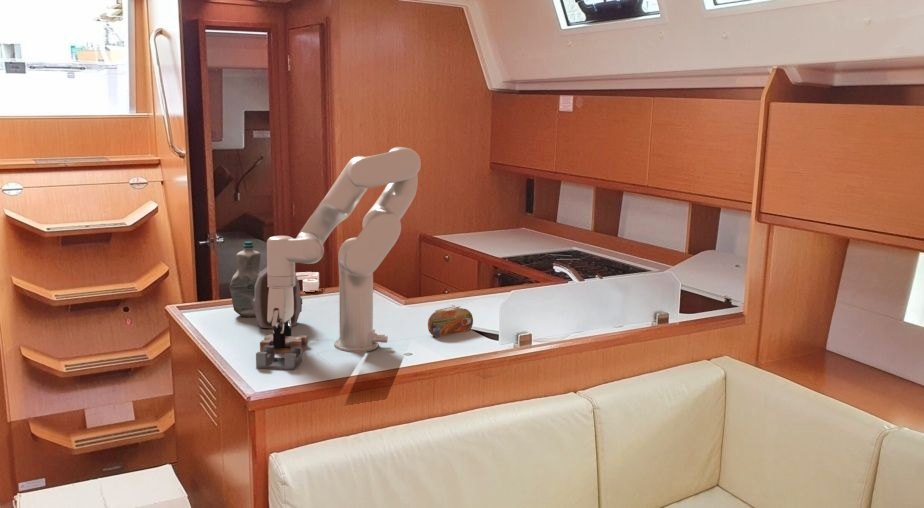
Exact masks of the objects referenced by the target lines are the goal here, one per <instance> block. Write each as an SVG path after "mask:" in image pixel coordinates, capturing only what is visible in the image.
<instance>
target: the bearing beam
mask: <svg viewBox="0 0 924 508" xmlns="http://www.w3.org/2000/svg"><path fill="white" fill-rule="evenodd" d="M267 336H273V333H269V334H268V335H267ZM297 337H302V346H301V342H297V341H292V342H291V343H290V347H284V348H281V347H274V352H275V354H282V355H283V354H284V355H285V354H286V353H291V348H292V347H302V352H303V351H304V350H306V348H307V347H308V346H309V345H308V341H309V340H308V335H298V336H297ZM265 345H267V346H271V340H264V339H262V340H260V342H259V352H263V347H264V346H265Z"/></svg>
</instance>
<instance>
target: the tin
mask: <svg viewBox="0 0 924 508" xmlns="http://www.w3.org/2000/svg"><path fill="white" fill-rule="evenodd" d="M429 316H430V317H429V318H428V320H427V329H428V332H429V334H430V335H432V336H433V337H435V338H440V337H445V336H449V335H453V334H458V333H463V332H470V331H471V330H472V327H473V324H474V317H473V314H472V313H471V311H470V310H469V309H466V308H461V307H459V308H455V309H448V310H441V311H436V312H435V311H434V312H433V313H432V314H431V315H429Z"/></svg>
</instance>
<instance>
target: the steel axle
mask: <svg viewBox="0 0 924 508" xmlns="http://www.w3.org/2000/svg"><path fill="white" fill-rule="evenodd" d="M263 340H271V346H273V336H268V335H265V336H264V338H263ZM292 341H297V342H301V346H302V337H298V336H291V337H290V336H285V347H290V343H291V342H292Z"/></svg>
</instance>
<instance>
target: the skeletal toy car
mask: <svg viewBox="0 0 924 508" xmlns="http://www.w3.org/2000/svg"><path fill="white" fill-rule="evenodd" d="M295 273H296V276H297V279H298V281H300V280H302V292H303V291H310V290H318V291H319V288H320V272H318V271H316V272H315V271H313V272H312V271H305V272H303V271H302V272H301V271H300V272H295Z"/></svg>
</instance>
